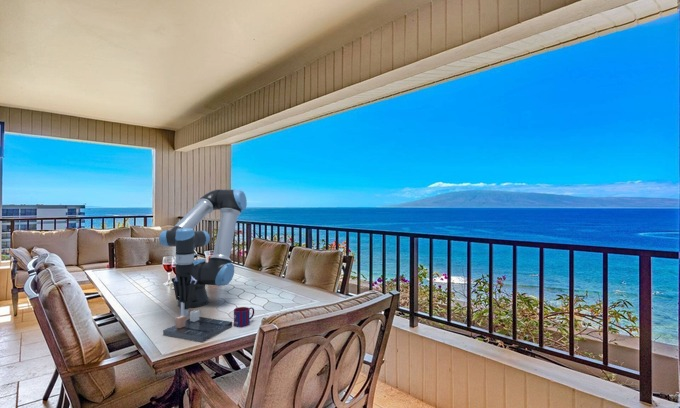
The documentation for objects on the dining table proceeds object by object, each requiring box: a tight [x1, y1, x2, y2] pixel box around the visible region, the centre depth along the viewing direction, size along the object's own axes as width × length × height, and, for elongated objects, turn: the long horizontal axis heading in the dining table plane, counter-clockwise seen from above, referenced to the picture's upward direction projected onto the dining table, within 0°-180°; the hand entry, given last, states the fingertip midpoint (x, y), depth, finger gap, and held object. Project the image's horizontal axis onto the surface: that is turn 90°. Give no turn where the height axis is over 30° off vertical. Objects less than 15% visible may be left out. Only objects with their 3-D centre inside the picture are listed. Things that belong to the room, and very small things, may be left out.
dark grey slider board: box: [162, 316, 233, 343], centre depth 142 cm, size 20×18×2 cm
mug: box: [233, 306, 255, 328], centre depth 151 cm, size 7×10×7 cm
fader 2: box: [189, 309, 200, 322], centre depth 148 cm, size 2×3×4 cm
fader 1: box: [174, 315, 187, 328], centre depth 140 cm, size 2×3×4 cm
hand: (184, 316), depth 150 cm, fingers closed
